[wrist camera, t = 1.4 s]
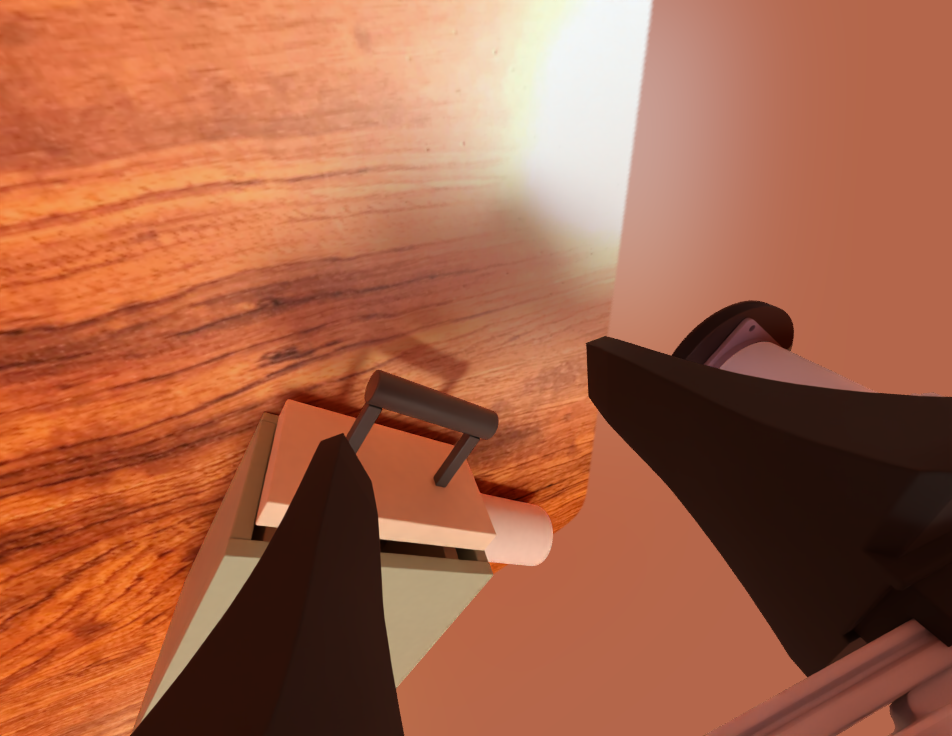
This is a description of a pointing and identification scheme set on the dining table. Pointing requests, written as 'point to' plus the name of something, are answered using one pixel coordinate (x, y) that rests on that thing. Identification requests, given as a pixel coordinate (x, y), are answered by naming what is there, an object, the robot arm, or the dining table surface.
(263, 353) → the dining table surface
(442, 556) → the drawer
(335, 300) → the dining table surface
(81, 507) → the dining table surface
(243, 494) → the cabinet
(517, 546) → the paper towel roll
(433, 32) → the dining table surface
